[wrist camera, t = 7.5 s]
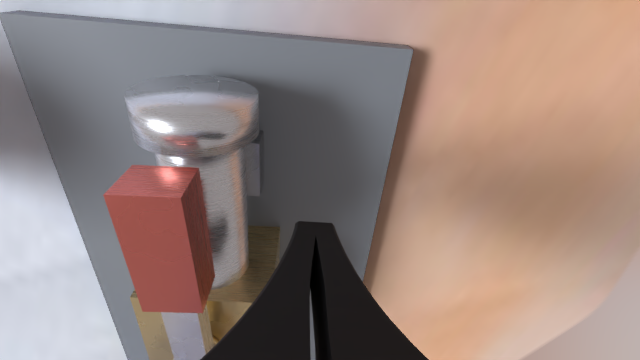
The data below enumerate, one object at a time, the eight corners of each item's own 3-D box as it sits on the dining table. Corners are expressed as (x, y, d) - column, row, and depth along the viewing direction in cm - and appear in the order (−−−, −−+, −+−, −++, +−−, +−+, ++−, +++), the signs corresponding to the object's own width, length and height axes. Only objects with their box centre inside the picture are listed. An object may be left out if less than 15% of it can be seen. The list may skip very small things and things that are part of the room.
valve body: (276, 368, 28) (267, 454, 23) (199, 365, 28) (174, 452, 23) (284, 77, 16) (270, 124, 11) (145, 65, 15) (61, 109, 10)
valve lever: (232, 366, 17) (224, 404, 16) (182, 365, 17) (169, 403, 16) (205, 167, 11) (187, 198, 10) (125, 164, 11) (95, 194, 10)
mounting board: (340, 367, 31) (341, 380, 30) (139, 361, 30) (133, 374, 29) (407, 45, 16) (413, 49, 15) (19, 10, 15) (-2, 13, 14)
